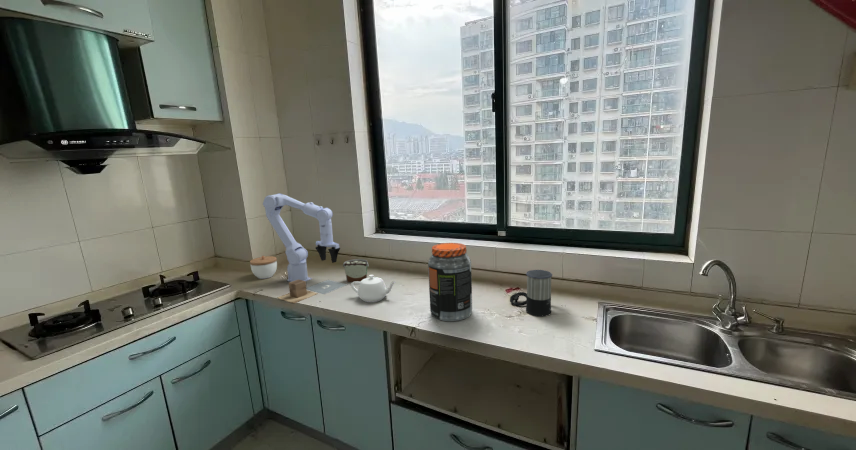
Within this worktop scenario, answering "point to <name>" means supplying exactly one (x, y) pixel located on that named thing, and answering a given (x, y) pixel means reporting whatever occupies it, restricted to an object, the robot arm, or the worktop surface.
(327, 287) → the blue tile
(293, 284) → the walnut block
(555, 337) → the worktop surface
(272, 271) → the lidded bowl
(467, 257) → the supplement tub
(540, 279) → the milk frother
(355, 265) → the food container
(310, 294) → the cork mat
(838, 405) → the worktop surface
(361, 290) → the teapot
